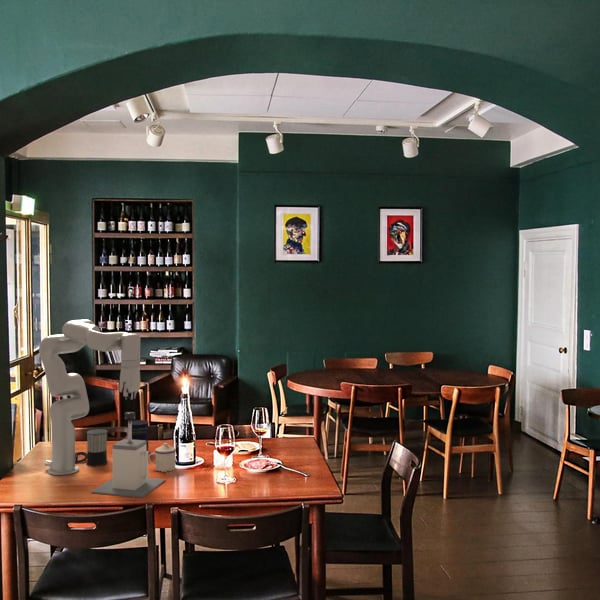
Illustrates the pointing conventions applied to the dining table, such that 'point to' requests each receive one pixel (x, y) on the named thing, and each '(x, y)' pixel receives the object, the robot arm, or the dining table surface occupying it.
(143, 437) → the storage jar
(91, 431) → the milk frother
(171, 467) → the teacup with lid
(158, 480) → the slate mat
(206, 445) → the dining table surface
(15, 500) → the dining table surface
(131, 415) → the plunger
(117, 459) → the box
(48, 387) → the robot arm
